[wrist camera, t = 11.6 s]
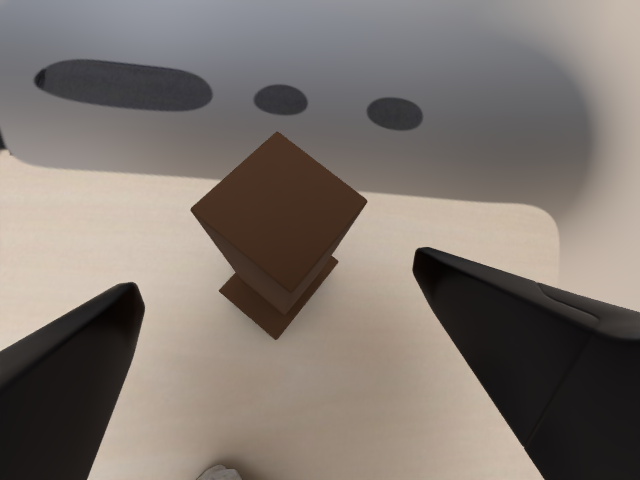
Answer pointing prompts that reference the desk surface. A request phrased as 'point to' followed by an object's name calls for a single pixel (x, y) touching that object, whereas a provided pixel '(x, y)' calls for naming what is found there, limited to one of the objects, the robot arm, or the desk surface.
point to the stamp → (277, 229)
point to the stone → (220, 474)
